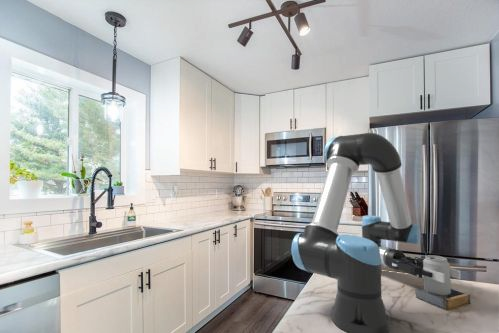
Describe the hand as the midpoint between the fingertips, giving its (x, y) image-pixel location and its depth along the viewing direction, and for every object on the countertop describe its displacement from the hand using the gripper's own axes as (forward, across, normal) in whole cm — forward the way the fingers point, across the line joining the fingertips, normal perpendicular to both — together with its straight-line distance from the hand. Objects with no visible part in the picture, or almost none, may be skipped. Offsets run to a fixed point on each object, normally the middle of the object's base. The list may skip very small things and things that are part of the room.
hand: (451, 276), depth 88 cm
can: (-5, 0, -7) cm, 9 cm away
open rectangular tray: (-3, 0, -9) cm, 9 cm away
